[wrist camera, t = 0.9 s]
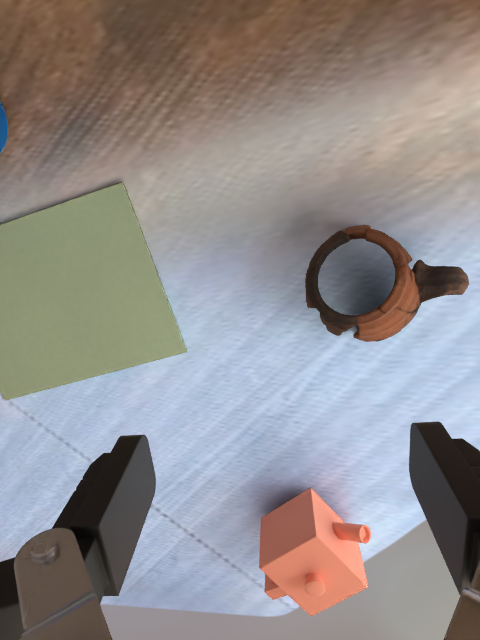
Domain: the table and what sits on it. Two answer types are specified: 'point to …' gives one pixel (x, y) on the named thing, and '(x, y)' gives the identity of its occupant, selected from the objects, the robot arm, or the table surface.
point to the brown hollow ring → (403, 297)
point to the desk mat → (79, 295)
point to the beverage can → (3, 128)
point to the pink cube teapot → (311, 553)
